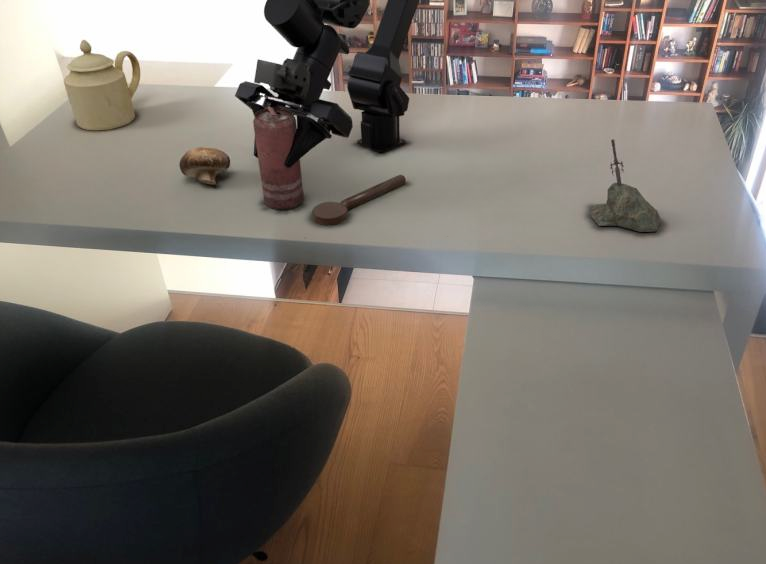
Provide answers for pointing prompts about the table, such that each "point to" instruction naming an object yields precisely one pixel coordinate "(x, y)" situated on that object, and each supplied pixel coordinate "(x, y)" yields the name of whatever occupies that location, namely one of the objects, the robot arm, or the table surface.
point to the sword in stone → (625, 206)
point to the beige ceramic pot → (101, 89)
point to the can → (277, 158)
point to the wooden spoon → (352, 202)
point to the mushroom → (204, 164)
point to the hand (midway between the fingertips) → (271, 161)
